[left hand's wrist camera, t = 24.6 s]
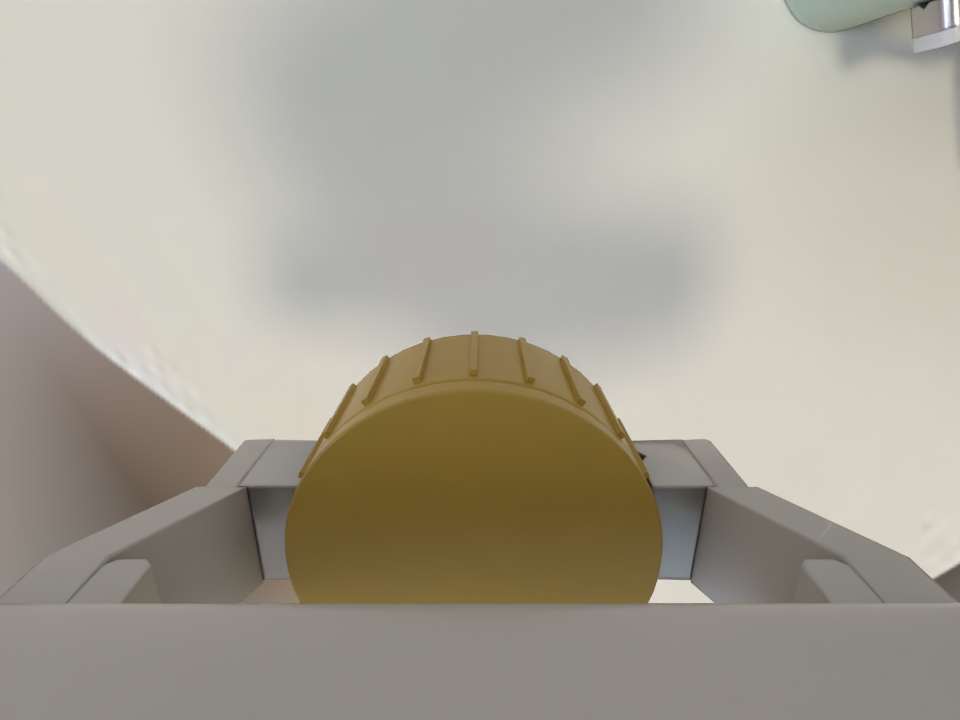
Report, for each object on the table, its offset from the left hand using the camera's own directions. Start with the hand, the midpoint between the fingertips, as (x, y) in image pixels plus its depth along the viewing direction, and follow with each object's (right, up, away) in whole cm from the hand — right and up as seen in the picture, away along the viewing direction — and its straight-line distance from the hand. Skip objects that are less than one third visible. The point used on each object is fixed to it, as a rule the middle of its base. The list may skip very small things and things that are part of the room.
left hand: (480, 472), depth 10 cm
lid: (0, -1, -2) cm, 2 cm away
